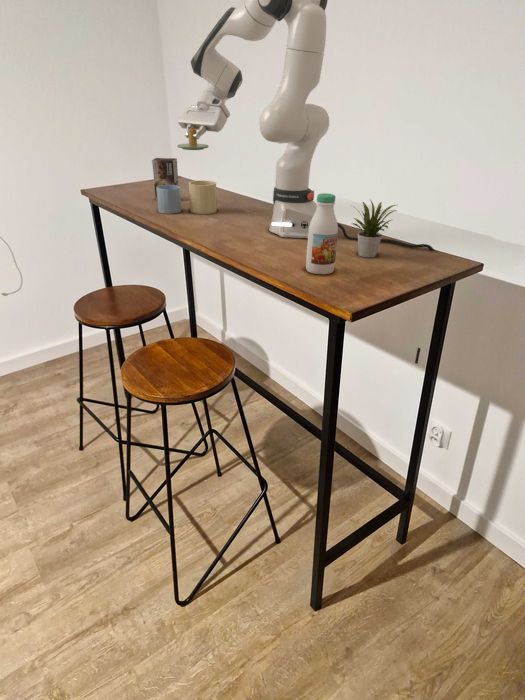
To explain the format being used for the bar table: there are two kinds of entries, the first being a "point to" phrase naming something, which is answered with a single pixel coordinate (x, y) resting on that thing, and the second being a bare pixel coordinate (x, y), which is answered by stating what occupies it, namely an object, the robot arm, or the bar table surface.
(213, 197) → the wooden container
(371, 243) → the house plant
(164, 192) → the cup
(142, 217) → the bar table surface
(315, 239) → the milk bottle
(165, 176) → the coffee box
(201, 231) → the bar table surface
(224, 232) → the bar table surface
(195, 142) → the lid
